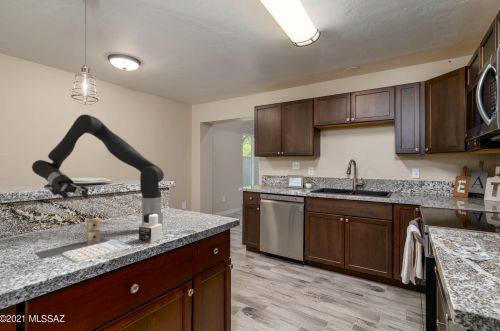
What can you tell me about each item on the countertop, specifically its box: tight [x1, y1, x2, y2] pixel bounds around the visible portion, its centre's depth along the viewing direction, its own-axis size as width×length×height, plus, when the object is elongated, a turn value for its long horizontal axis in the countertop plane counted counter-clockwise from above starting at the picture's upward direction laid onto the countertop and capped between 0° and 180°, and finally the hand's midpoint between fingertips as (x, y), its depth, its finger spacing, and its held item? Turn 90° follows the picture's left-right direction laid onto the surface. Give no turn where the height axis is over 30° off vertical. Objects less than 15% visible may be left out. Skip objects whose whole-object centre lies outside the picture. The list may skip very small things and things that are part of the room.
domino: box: [85, 217, 101, 244], centre depth 107 cm, size 4×2×10 cm, turn 146°
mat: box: [33, 237, 110, 259], centre depth 101 cm, size 24×9×1 cm, turn 146°
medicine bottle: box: [138, 213, 163, 244], centre depth 112 cm, size 7×7×12 cm
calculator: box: [61, 239, 130, 263], centre depth 97 cm, size 13×20×2 cm, turn 146°
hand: (77, 196), depth 113 cm, fingers open, 8 cm apart
